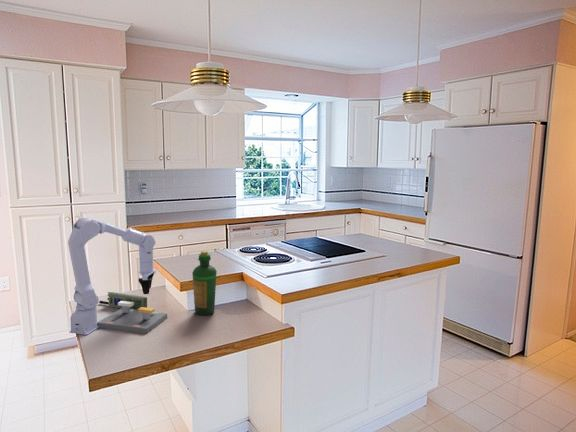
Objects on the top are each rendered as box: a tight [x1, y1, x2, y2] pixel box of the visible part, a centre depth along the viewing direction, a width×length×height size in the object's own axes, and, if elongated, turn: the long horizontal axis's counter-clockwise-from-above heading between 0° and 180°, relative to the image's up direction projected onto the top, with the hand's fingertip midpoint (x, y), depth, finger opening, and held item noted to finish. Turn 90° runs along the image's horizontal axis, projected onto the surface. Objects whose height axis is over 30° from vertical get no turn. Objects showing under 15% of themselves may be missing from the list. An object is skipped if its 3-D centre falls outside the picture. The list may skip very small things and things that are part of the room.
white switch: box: [118, 301, 134, 313], centre depth 171 cm, size 2×6×4 cm, turn 78°
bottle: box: [192, 250, 218, 316], centre depth 177 cm, size 11×11×28 cm
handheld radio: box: [98, 291, 148, 310], centre depth 182 cm, size 7×3×25 cm
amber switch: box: [138, 307, 155, 320], centre depth 165 cm, size 2×6×4 cm, turn 78°
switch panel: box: [97, 308, 168, 334], centre depth 167 cm, size 16×22×2 cm
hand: (147, 291), depth 177 cm, fingers open, 7 cm apart
